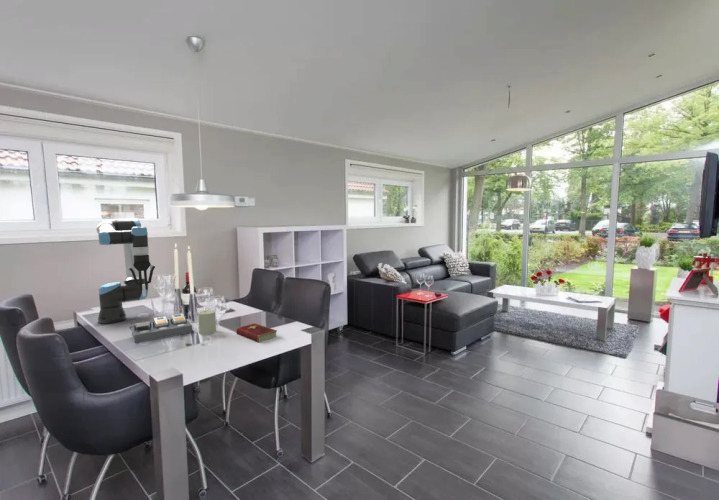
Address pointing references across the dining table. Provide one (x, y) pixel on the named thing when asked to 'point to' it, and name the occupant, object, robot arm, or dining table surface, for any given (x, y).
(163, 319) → the rocker middle
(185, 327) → the rocker switch panel
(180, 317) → the rocker
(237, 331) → the hardcover book
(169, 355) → the dining table surface
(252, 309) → the dining table surface
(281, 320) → the dining table surface
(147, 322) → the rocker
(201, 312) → the can
